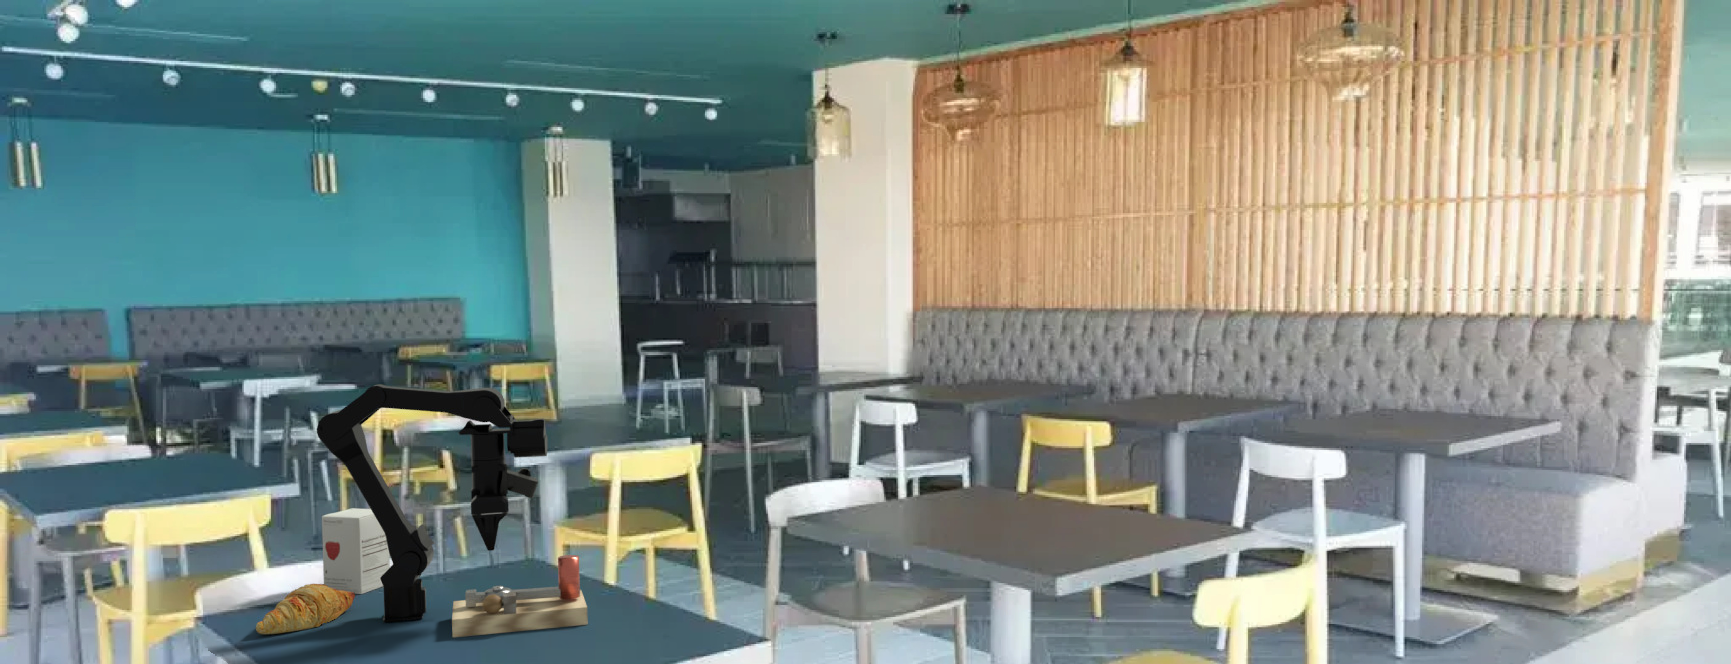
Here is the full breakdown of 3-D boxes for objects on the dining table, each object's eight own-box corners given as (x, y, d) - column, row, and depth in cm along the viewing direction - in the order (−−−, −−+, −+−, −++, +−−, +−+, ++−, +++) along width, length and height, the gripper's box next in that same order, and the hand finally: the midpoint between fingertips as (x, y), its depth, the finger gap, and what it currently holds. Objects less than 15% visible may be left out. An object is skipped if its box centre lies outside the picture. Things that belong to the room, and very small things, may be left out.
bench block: (452, 637, 204) (451, 601, 203) (454, 617, 216) (453, 584, 216) (587, 624, 210) (586, 589, 210) (581, 606, 223) (580, 573, 222)
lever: (465, 608, 209) (464, 566, 209) (467, 602, 213) (466, 561, 213) (580, 599, 213) (579, 558, 213) (579, 593, 218) (578, 553, 217)
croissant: (272, 660, 204) (287, 620, 203) (230, 628, 207) (245, 589, 206) (364, 624, 224) (379, 588, 223) (325, 596, 227) (339, 559, 225)
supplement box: (321, 592, 237) (319, 515, 236) (354, 581, 246) (351, 507, 245) (361, 594, 234) (358, 517, 234) (392, 583, 243) (389, 508, 242)
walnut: (482, 616, 205) (482, 597, 205) (482, 611, 208) (482, 593, 208) (502, 614, 206) (502, 595, 206) (502, 609, 209) (501, 591, 209)
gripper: (537, 462, 212) (539, 551, 213) (532, 449, 230) (534, 532, 231) (469, 466, 209) (472, 557, 210) (470, 453, 227) (472, 536, 227)
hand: (490, 545), depth 219 cm, fingers open, 9 cm apart
